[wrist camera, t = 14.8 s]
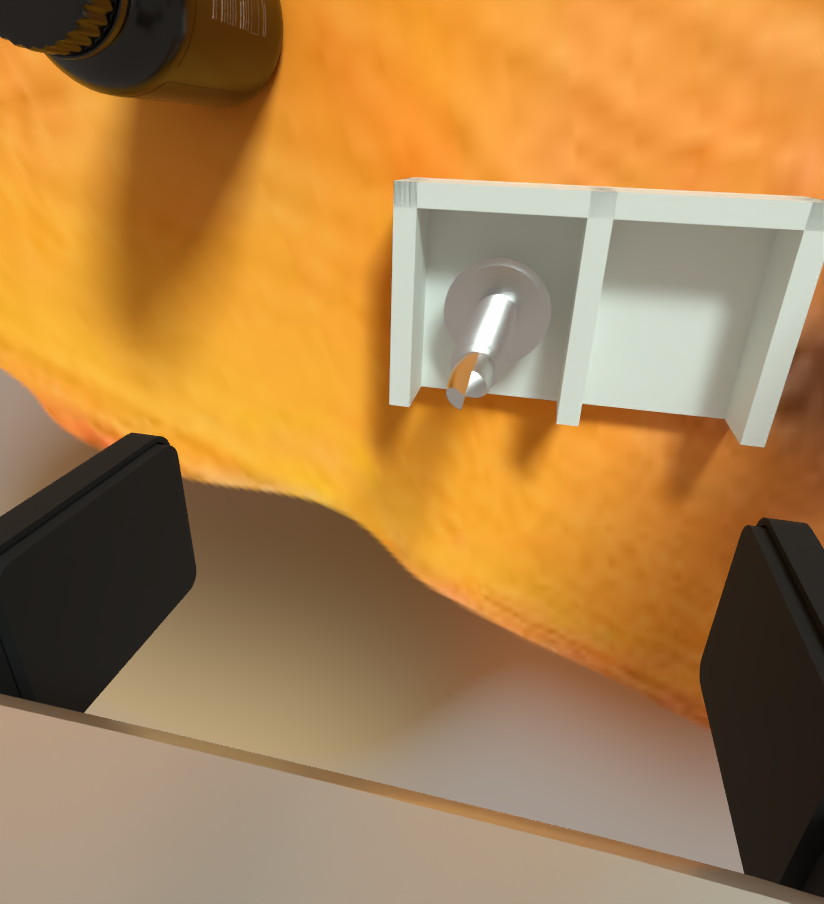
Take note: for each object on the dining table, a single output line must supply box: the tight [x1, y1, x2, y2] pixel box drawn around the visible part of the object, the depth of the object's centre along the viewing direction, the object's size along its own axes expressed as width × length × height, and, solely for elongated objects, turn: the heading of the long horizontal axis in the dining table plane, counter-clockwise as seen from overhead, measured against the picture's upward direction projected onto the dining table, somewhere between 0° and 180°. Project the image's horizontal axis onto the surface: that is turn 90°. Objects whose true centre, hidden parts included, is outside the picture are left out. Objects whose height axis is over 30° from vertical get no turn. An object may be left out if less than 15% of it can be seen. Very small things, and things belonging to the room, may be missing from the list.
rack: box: [389, 177, 824, 447], centre depth 28 cm, size 17×10×4 cm, turn 86°
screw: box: [444, 256, 552, 410], centre depth 24 cm, size 13×5×5 cm
